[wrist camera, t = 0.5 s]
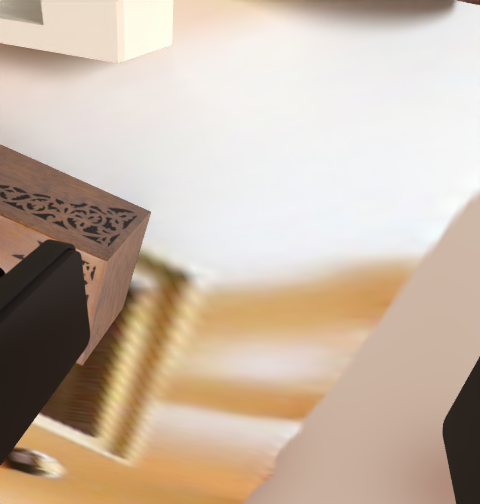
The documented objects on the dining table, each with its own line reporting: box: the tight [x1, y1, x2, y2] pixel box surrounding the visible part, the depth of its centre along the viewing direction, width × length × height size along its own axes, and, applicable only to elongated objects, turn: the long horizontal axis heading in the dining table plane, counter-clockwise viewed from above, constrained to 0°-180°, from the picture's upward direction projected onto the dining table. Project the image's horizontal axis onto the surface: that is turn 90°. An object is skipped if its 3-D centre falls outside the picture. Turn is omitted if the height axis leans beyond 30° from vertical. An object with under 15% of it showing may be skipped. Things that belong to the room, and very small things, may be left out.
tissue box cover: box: [0, 145, 151, 365], centre depth 45 cm, size 26×14×10 cm, turn 69°
